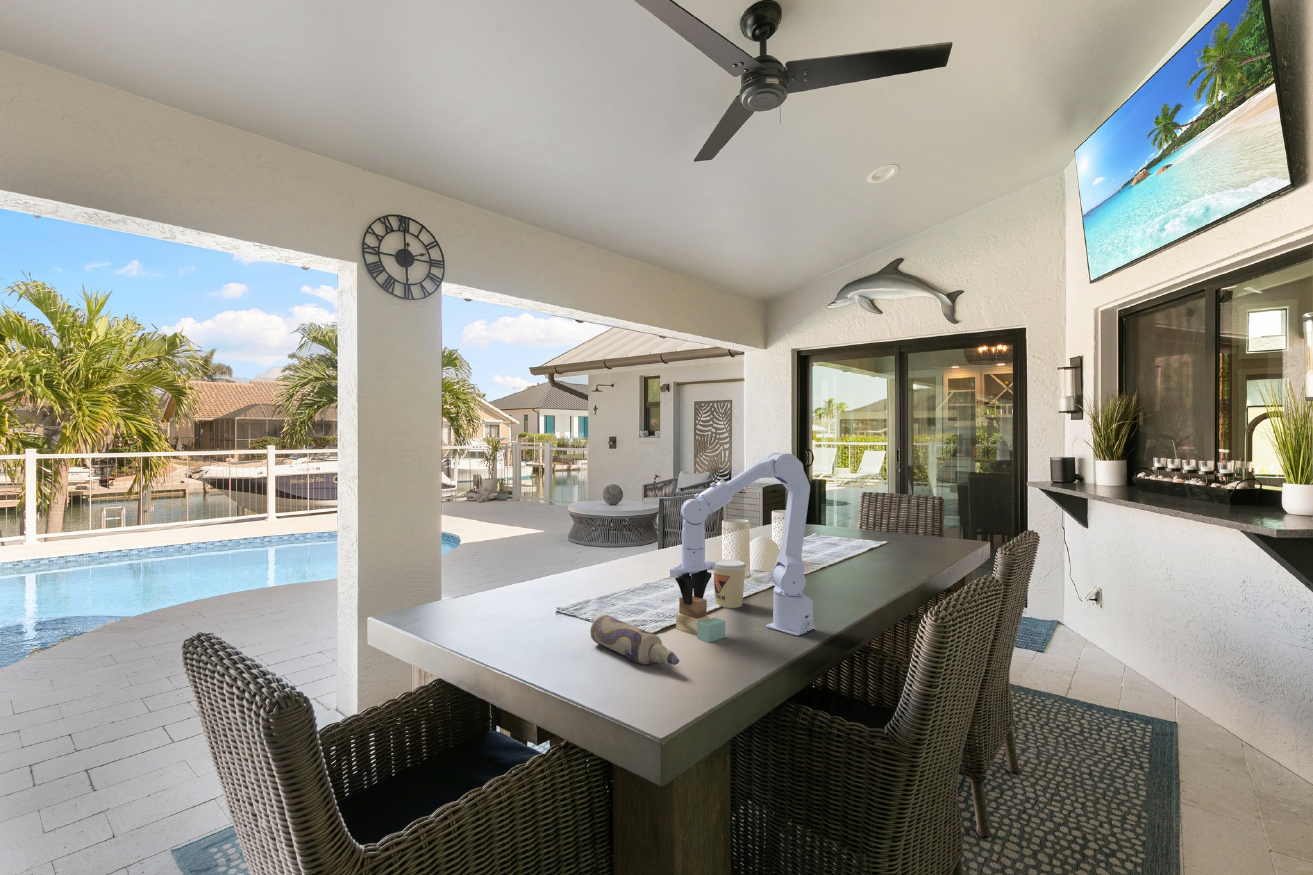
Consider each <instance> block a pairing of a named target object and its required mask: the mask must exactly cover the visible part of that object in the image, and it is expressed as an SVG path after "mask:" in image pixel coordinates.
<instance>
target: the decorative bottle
mask: <svg viewBox="0 0 1313 875" xmlns="http://www.w3.org/2000/svg"><path fill="white" fill-rule="evenodd" d="M589 633H590V637H591V639H592V641H593V643H594V642H595V644H598V645H601V646H604V647H605V648H608V649H609V650H613V651H614V652H616V653H618V654H620V655H622V656H625V657H626V659H627V660H630V661H632V662H633V663H634V662H635V663H637V664H639V665H643V666H647V665H652V664H659V663H661V664H664V665H667V666H670V665H673V666H674V665H675V666H676V665H678V664H679V662H680V659H679V658H678V656H677V655H676V654H675V653H674V652H673V651H672V650H670V649H667V647H666V646H665V645H663V642H662V640H661V638H660V636H658V634H657V635H656V634H654V633H652V632H649V631H647V630H645V629H643V628H640V627H638V626H635V625H633V624H630V623H628V622H625V621H622V620H620V619H617V618H615V617H613V616H611V615H609V614H603V615H601V616H598V617H596V619H594V621H593V622H592V624H591V626H590V631H589Z"/></svg>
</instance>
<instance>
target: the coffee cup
mask: <svg viewBox="0 0 1313 875" xmlns="http://www.w3.org/2000/svg"><path fill="white" fill-rule="evenodd" d="M714 562H715V570H713V586H714V587H713V588H714V597H715V598H714V601H715V605H716V604H718V605H720V606H723V607H722V608H725V609H735V608H736V609H737V608H740V607H742V606H743V600H744V589H745V576H746V573H745V572H746V567H747V566H746V565H745V562H744V561H742V560H737V559H736V560H735V559H719V560H715V561H714ZM720 606H719V607H720Z"/></svg>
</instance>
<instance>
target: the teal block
mask: <svg viewBox="0 0 1313 875" xmlns="http://www.w3.org/2000/svg"><path fill="white" fill-rule="evenodd" d="M696 636H697V637H696V638H697V639H698V640H700V641H703V642H706V643H710V642H714V641H717V640H720V639H723V638H726V620H724V619H721V618H717V617H712V618H711V617H710V619H708V620H704V621H701V622H698V635H696Z"/></svg>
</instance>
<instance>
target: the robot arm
mask: <svg viewBox="0 0 1313 875" xmlns="http://www.w3.org/2000/svg"><path fill="white" fill-rule="evenodd" d="M763 478H764V479H769V478H770V479H771V478H774V479H776V480H777V481H779V482H780V483H781V484H782V485H783V487H784V488H785V489H786V490H787V491H788V492H787V494H788V495H787V499H786V500H787V501H786V508H785V514H784V524H783V530H782V538H781V547H780V552H779V553H778V555H777V557H776V561H775V564H774V566H773V567H772V569H771V573H770V578H771V580H772V582H773V583H774V584H775V586H774V588H773V589H772V590H773V591H772V592H773V594H772V595H773V597H772V598H773V599H772V601H773V602H772V603H773V604H772V605H773V606H772V608H773V609H772V611H773V613H772V614H773V615H772V617H773V618H772V622H771V623H768V624H765V627H766V628H768V629H772V630H775V631H780V632H783V633H787V634H789V635H794V636H800V635H803V634H805V633H808V632H807V631H809V632H810V630H811V631H813V630H812V629H814V630H815V626H814V602H813V600H812V598H810V597H809V596H806V595H805V594H803V593H804V592H803V591H804V590H805V588H806V584H807V578H806V577H805V564H804V561H803V558H802V554H803V547H804V537H805V532H806V523H807V515H808V509H809V508H808V506H809V500H810V493H811V485H810V483H809V482H810V481H809V479H808V477H807V474H806V472H805V470H804V464H803V462H802V461H800V460H799V459H798V458H797V456H796V455H794V454H792V453H788V452H787V453H780V452H774V453H771V454H770V455H768V456H767V457H763V458H761V459H759V460H758V461H756V462H755V463H753V464H752V465H750V466H749V467H748V468H746V469H745V470H743V471H742V472H740V473H739V474H737V475H736V476H734V477H733V478H732V479H730V480H729V481H727V482H722V481H718V482H712V483H710V484H709V487H708V488H707V489H705V490H703V491H702V492H700V493H698V492H697V493H695V494H694V495H693V496H694V498H689V499H687V500H685V501H684V502H683V503H682V505H681V507H680V508H681V509H680V515H681V517H682V518H683V519H682V529H681V530H682V531H681V534H682V535H681V562H680V563H679V565H678V566H676V567H673V568H669V577H670V578H674V580H675V581H676V583H677V585H678V588H679V590H680V593H681V597H682V598H683V602H684V604H688V605H691V603H692V596H694V597H698V598H702V599H704V596H705V592H706V588H707V586H708V584H709V582H710V579H712V576H713V575H712V572H709V571H714V570H715V561H711V560H708V561H706V529H705V525H706V524H705V522H706V520H707V519H708V515H712V514H713V513H715V512H716V511H718V510H720V509H721V508H723V507H725V506H726V505H727V504H729V503H731V502H732V500H733V497H734V494H735V493H737V492H739V491H741V490H742V489H744V488H746V487H747V486H750V485H751V484H753V483H754V482H757V481H758V480H760V479H763Z"/></svg>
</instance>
